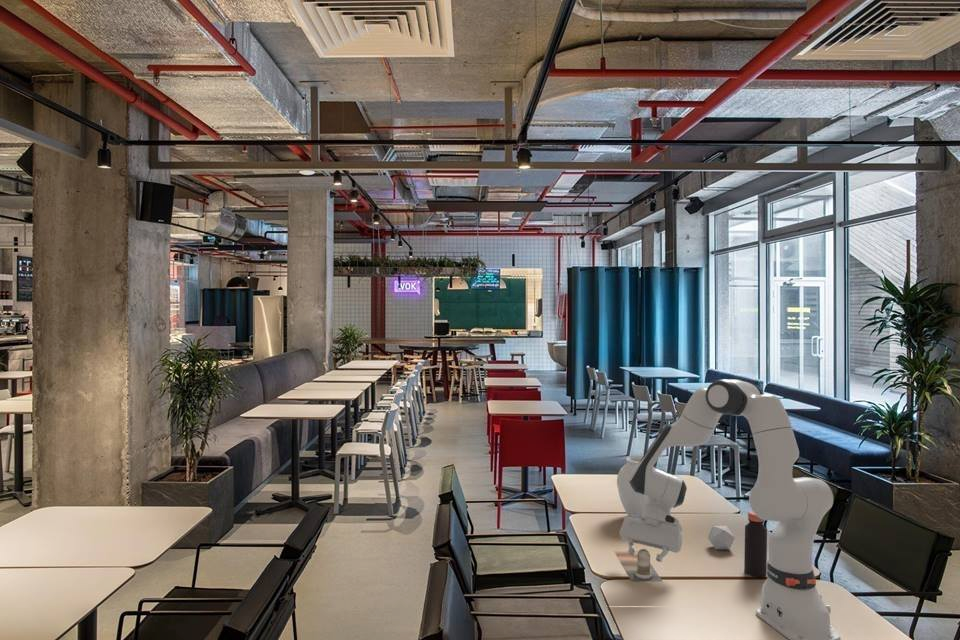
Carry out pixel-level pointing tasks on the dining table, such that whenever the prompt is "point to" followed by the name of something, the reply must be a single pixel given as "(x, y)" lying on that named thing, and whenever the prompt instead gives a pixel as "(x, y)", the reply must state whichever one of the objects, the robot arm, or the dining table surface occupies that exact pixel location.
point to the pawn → (643, 565)
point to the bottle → (755, 546)
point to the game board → (634, 566)
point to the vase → (630, 488)
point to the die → (721, 537)
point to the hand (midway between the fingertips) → (644, 557)
